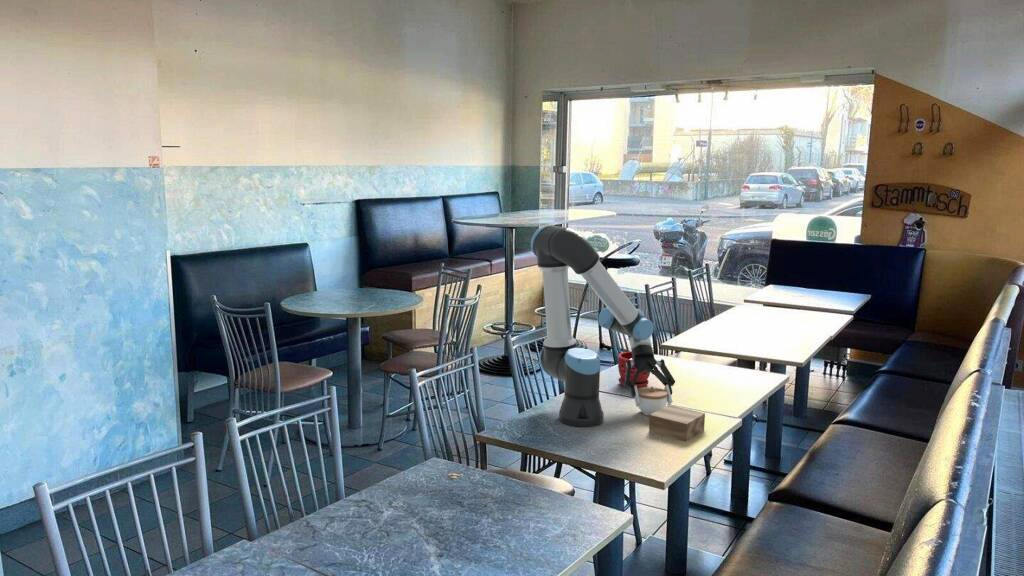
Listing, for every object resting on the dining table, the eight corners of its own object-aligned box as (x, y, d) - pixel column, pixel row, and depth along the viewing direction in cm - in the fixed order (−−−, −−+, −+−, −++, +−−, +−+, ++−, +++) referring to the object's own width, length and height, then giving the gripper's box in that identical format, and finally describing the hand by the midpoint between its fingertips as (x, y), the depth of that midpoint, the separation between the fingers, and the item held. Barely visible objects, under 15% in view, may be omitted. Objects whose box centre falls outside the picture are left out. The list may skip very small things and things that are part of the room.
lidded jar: (633, 416, 250) (634, 390, 248) (637, 406, 260) (638, 381, 259) (665, 419, 247) (666, 393, 245) (668, 409, 257) (669, 384, 256)
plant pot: (615, 388, 281) (616, 358, 279) (619, 379, 294) (620, 350, 292) (650, 391, 278) (651, 360, 276) (652, 381, 291) (653, 352, 289)
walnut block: (686, 442, 228) (686, 424, 227) (649, 432, 236) (649, 414, 235) (704, 430, 238) (705, 413, 237) (667, 421, 246) (668, 404, 245)
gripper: (669, 353, 267) (683, 407, 255) (608, 355, 264) (619, 410, 251) (675, 342, 261) (689, 397, 249) (612, 344, 258) (624, 400, 245)
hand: (654, 404), depth 250 cm, fingers closed on lidded jar, 11 cm apart
